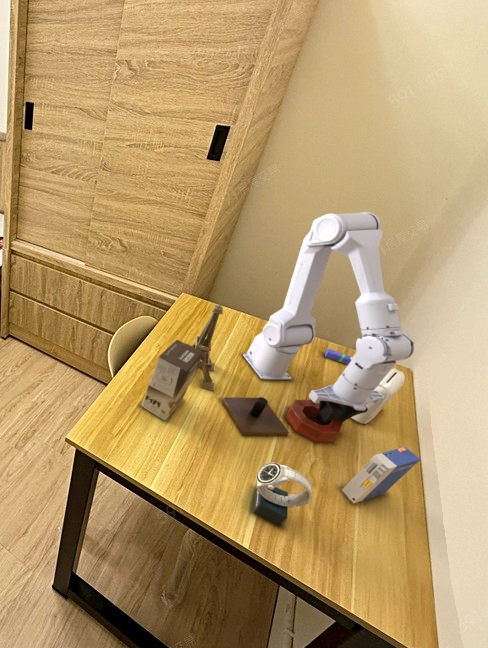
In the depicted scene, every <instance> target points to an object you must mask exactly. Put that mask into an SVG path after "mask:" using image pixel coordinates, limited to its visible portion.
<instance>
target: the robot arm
mask: <svg viewBox="0 0 488 648" xmlns="http://www.w3.org/2000/svg"><path fill="white" fill-rule="evenodd" d="M381 226H382V225H381V220H380V218H379V217H378V215H376V214H375V213H373V212H369V211H361V212H351V213H327V214H324V215H321V216H319V217H318V218H314V220H313V221H312V224H311V227H310V230H309V232H308V233H307V234H306V235H305V236H304V238H303V240H302V243H301V246H300V250H299V254H298V257H297V260H296V263H295V267H294V269H293V273H292V276H291V280H290V282H289V283H290V284H289V286H288V290H287V293H286V297H285V300H284V303H283V306H282V307H281V309H279V310H277V311H276V312H274V313H273V314H271V315H270V316H269V319H268V321H267V322H266V324H264V326H263V328H262V332H260V333H258V334H257V335H256V336H255V337H254V339H253V341H252V342H251V345H250V347H249V348H248V350H247V352H246V353H243V354H242V355H243V357H244V358H245V360H246V361H247V362H248V364H249V365H250V367H252V369H253V371H254V372H256V374H257V376H259V378H260V379H261V380H267V381H268V380H275V381H276V380H280V381H285V380H286V381H291V380H292V378H293V377H292V376H291V375H290V374H289V373H288V371H287V370H288V369H289V367H290V365H291V364H292V362H293V361H294V359H295V357H296V355H297V354H298V353H299V351H300V350H301V349H302V348H303V347H304V345H305V346H306V345H310V344H312V343H313V342H314V340H315V339H316V324H317V319H316V318H315V317H314V316H313V315H312V314H311V313H312V310H313V308H314V304H315V301H316V299H317V295H318V292H319V290H320V286H321V283H322V280H323V277H324V275H325V272H326V268H327V265H328V262H329V259H330V257H331V254H332V252H336V253H338V254H340V255H342V256H345V257H347V258H348V259H349V261H350V264H351V267H352V270H353V271H352V272H353V273H354V278H355V280H356V283H357V287H358V289H359V292H360V295H359V297H358V298H357V300H355V302H354V304H355V309H356V313H357V318H358V322H359V327H360V332H361V336H362V337H358V338H357V339H356V342H355V350H356V351H355V353H354V355H353V356H352V357H354V358H353V359H352V360H351V362H350V363H349V365H346V367H345V369H344V370H343V371H342V373H341V374H340V375H339V377H338V378H337V380H335V382H334V383H332V384H330V385H327V386H325V387H322V388H319V389H312V390H311V392H310V393H309V394H308V398H309V400H312V401H313V402H314V403H319V411H318V415H317V419H318V420H319V421H320V423H321V424H322V425H326V424H328V423H329V422H330V421H331V420H332V419H333V418H334V417H335V416H337V417H338V418H339V419H340V420H341V421H342V422H343V423H344V422H345V421H347V420H349V419H352V418H351V417H353V416H355V415H358V414H361V413H365V412H367V411H368V408H367V407H366V406H365V405H366V404H369V403H371V402H374V403H381V401H382V400H383V399H384V398H385V397H384V396H383V395H381V394H380V393H379V392H378V391H374V390H375V388H376V387H377V386H378V385H379V384H380V382H381V381H382V380H383V379H384V378H385V376H386V375H387V374H388V373H389V371H390V370H391V369H392V368H393V369H394V366H395V365H396V364H397V362H398V361H403V360H407V359H409V358H410V357H412V355H413V354H414V352H415V341H414V340H413V338H412V337H411V336H410V335H409V334H407V332H406V331H405V328H403V327H402V326H401V323H400V318H399V314H398V311H399V305H398V303H396V301H395V297H393V296H392V295H390V294H388V293H386V291H385V287H384V279H383V271H382V263H381V256H380V248H379V245H380V243H381V241H382V238H383V236H384V234H383V231H382V228H381ZM320 423H319V424H320Z"/></svg>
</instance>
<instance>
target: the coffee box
mask: <svg viewBox="0 0 488 648" xmlns="http://www.w3.org/2000/svg"><path fill="white" fill-rule="evenodd" d="M202 355H203V352H202V351H200V350H198V349H196V348H194V347H192V346H191V344H189V343H185V342H183V341H181V340H178V339H176V340H175V341H173V342H172V343H171V344H170V345H169V346H168V347H167V348H165V350H164V351H163V352H161V354H160V355H159V356H158V359H157V362H156V364H155V367H154V370H153V372H152V375H151V378H150V381H149V383H148V386H147V389H146V391H145V395H144V397H143V400H142V402H141V404H140V405H141V407H142V408H144V409H145V410H147V411H148V412H150V413H152V414H153V415H154V416H156V417H158V418H159V419H162V421H167V419H168V418H169V417H170V416H171V415H172V414H173V412H174V411H175V410H176V409H177V407H179V406H180V404H181V403H182V401H183V400H184V398H185V396H186V393H187V391H188V388H189V386H190V384H191V382H192V379H193V378H194V375H195V373H196V370H197V368H198V367H197V366H198V364H199V361H201V357H202Z"/></svg>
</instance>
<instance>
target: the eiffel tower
mask: <svg viewBox="0 0 488 648" xmlns="http://www.w3.org/2000/svg"><path fill="white" fill-rule="evenodd" d="M225 295H226V293H223V296H222V298H221V300H220V302H219V305H217V304H214V306H212V307H211V308H212V309H211V312H212V313H211V315H210V317H209V319H208V320H207V322H206V324H205V326H204V327H203V329H202V331H201V332H200V334H199V335H196V336H195V339H194V342H193V343H192V344H190V346H192V347H194V348H196V349H198V350H200V351H202V352H203V355H202V357H201V359H200V361H199V364H198V366H197V368H198V369H199V370H201V371H202V376H203V377H202V379H201V389H204V390H207V391H211V392H215V382H213V379H212V377H211V375H210V371H212V372H214V371H215V363H213V362H212V359H211V357H210V356H211V355H210V354H211V353H210V352H211V351H212V340H213V337H214V334H215V331H216V327H217V323H218V320H219V316H220V315H223V311H224V307H223V306H222V302H223V300H224V297H225Z"/></svg>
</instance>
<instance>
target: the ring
mask: <svg viewBox="0 0 488 648" xmlns="http://www.w3.org/2000/svg"><path fill="white" fill-rule="evenodd" d="M318 411H319V403H314V402H313V401H312V400H311V399H295V400H294V401H293V403H291V406H289V409H288V411H287V413H286V415H285V417H284V418H285V420H286V421H287V423H288V424H289V425H290V426H291V429H293V430H294V432H295V433H297V434H299V435H301V436H302V437H305V438H307V439H308V440H310V441H312V442H314V443H333V442H334V440H336V438H337V437H338V436H339V435H340V433H341V430H342V427H343V423H344V422H342V421H341V420H340V419H339V418H338V417H337V416H335V417H334V418H333V419H332V420H331V421H330V422H329V423H328V424H326V425H322V424H321V423H320V421H319V420H318V419H317V415H318ZM309 418H311V419H312V420H311V419H309ZM313 420H314V421H313ZM317 422H318V423H317Z"/></svg>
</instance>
